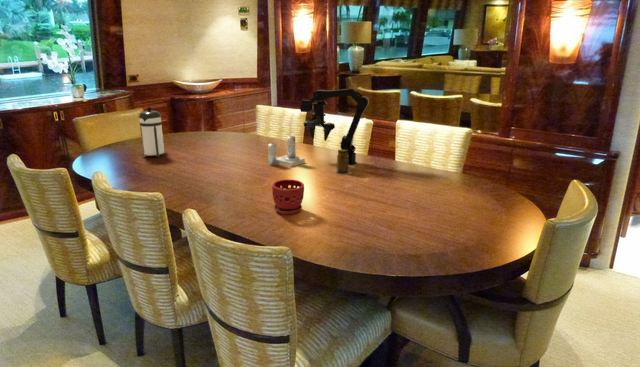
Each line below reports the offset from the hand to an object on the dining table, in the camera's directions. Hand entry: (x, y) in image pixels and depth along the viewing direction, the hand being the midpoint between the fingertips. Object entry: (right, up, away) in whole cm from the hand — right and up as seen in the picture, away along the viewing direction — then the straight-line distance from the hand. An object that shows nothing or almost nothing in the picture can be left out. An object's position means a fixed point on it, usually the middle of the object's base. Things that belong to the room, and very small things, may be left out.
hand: (319, 139), depth 267 cm
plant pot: (-13, -37, -72) cm, 82 cm away
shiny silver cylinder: (-16, -10, -1) cm, 19 cm away
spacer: (-26, -14, -3) cm, 30 cm away
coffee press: (-101, -8, +19) cm, 103 cm away
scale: (-18, -13, +2) cm, 22 cm away
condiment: (+13, -19, -17) cm, 29 cm away
